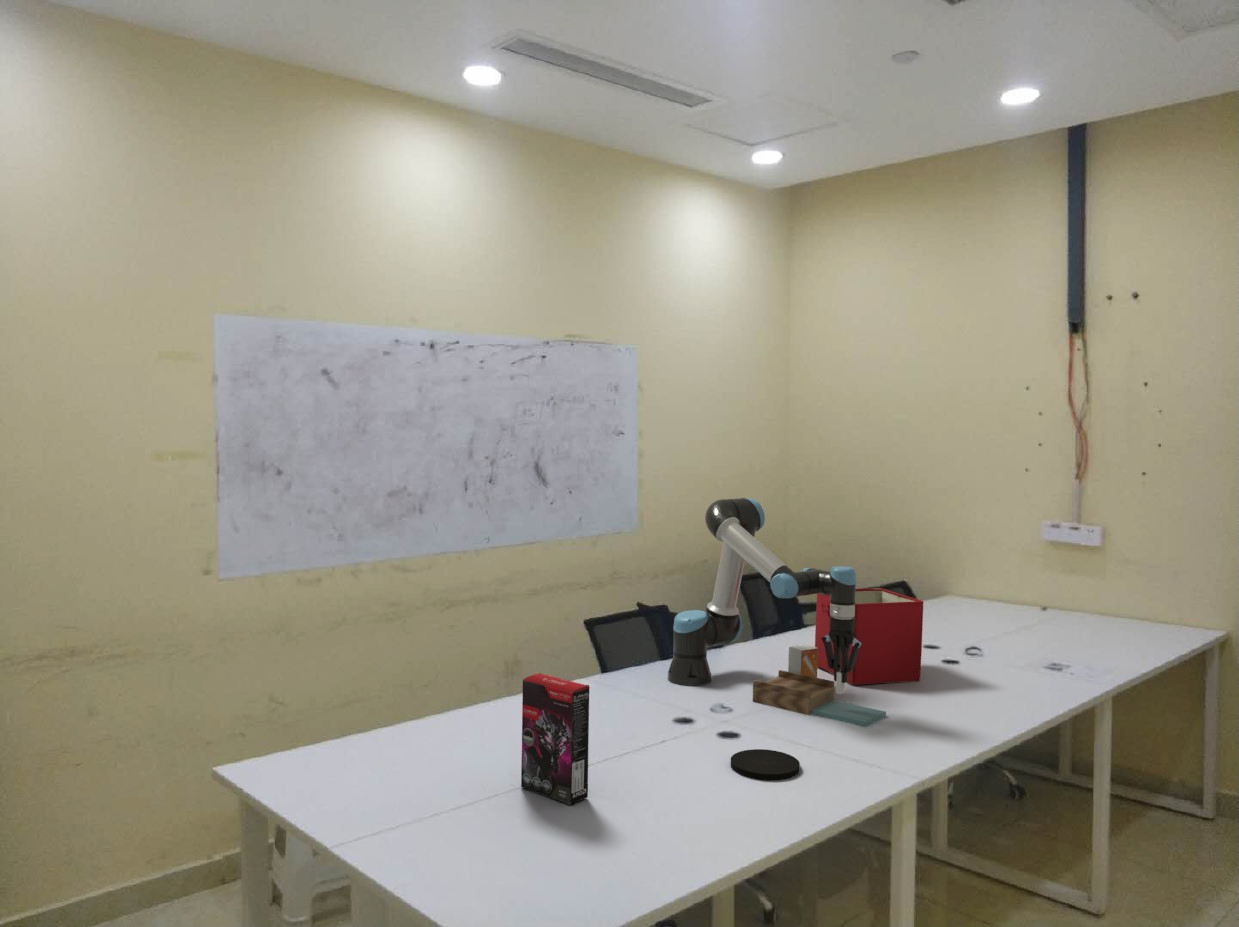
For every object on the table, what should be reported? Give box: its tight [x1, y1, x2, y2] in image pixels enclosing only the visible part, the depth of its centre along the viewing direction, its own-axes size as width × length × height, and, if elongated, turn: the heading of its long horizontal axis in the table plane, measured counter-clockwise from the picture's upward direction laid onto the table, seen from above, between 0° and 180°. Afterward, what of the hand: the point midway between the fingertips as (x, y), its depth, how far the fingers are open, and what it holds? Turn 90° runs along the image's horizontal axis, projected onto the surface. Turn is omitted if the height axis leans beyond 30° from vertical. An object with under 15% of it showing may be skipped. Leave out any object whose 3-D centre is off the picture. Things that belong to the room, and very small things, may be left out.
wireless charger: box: [730, 748, 801, 782], centre depth 243 cm, size 18×18×2 cm
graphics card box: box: [520, 673, 591, 805], centre depth 224 cm, size 17×7×27 cm, turn 51°
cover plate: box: [810, 699, 887, 728], centre depth 289 cm, size 18×14×2 cm
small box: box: [787, 643, 818, 678], centre depth 321 cm, size 8×6×13 cm
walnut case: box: [752, 669, 835, 716], centre depth 301 cm, size 20×17×7 cm
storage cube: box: [814, 587, 924, 686], centre depth 336 cm, size 32×28×29 cm
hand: (840, 692), depth 290 cm, fingers closed
